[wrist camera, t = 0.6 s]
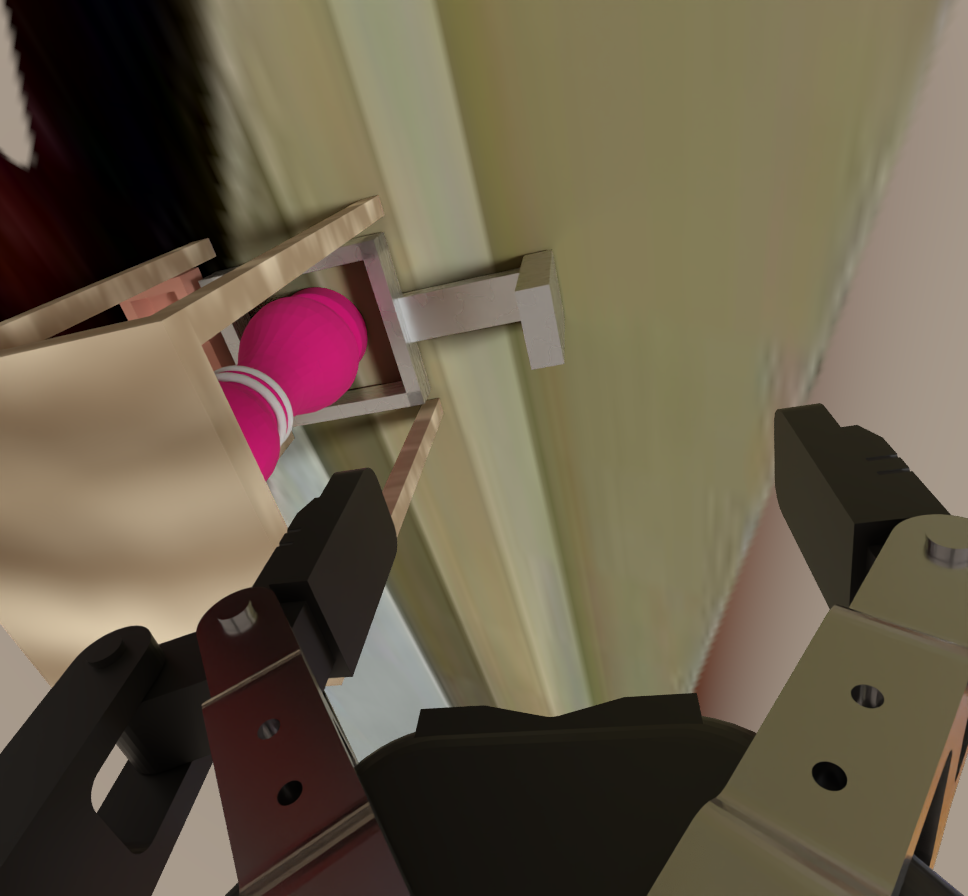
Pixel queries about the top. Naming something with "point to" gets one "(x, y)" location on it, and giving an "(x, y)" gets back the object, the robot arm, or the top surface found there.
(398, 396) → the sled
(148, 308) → the pit tray
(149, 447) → the shelf tunnel
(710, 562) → the top surface
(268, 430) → the pepper mill
